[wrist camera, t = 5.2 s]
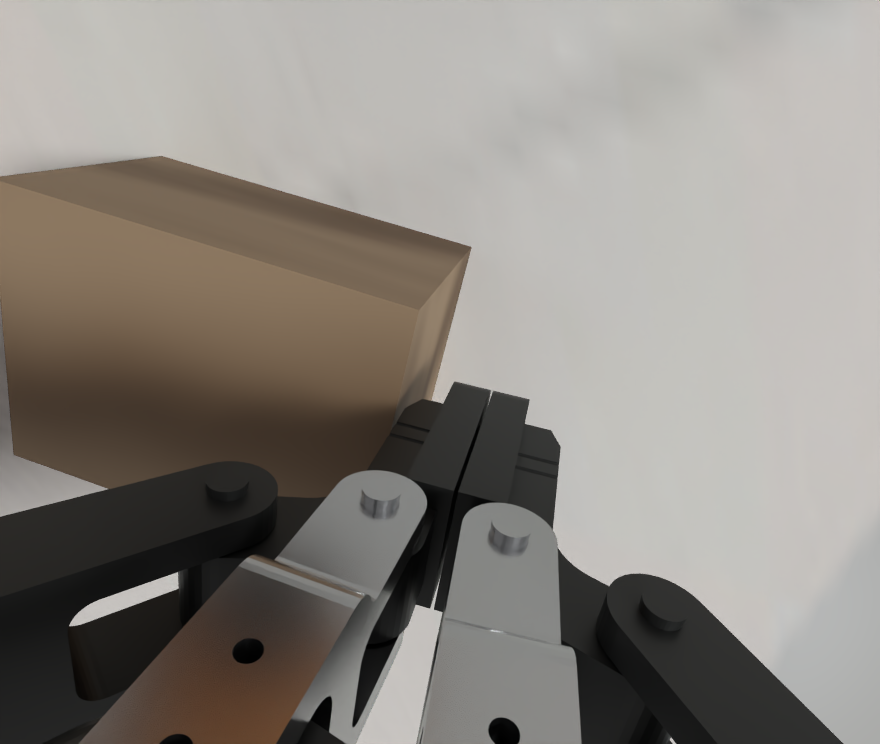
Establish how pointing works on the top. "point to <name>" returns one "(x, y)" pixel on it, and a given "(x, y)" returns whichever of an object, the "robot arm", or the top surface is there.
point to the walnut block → (211, 324)
